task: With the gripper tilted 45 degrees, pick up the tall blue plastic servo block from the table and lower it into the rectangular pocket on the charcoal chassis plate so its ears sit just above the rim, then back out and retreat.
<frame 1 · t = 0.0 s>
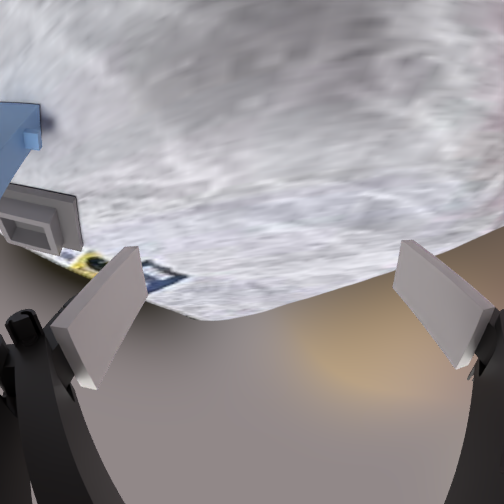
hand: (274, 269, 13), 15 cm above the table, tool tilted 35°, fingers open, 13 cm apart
chassis: (34, 214, 30), on the table
servo: (19, 118, 18), on the table
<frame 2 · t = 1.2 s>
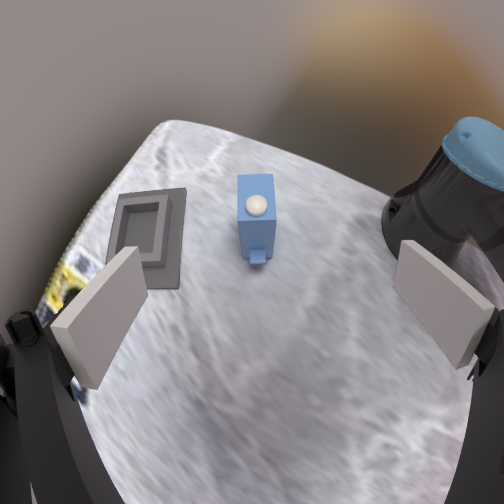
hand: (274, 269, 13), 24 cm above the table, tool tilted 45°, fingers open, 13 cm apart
chassis: (145, 237, 41), on the table
servo: (256, 238, 40), on the table
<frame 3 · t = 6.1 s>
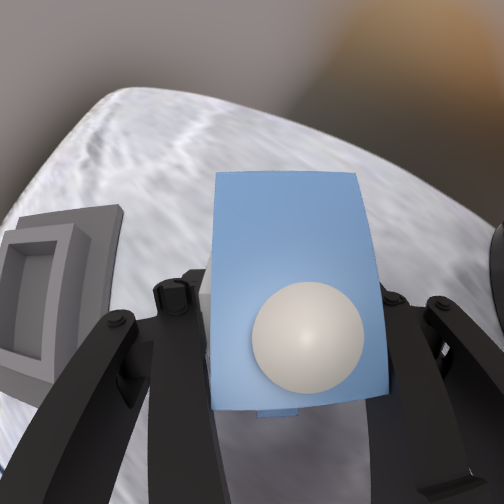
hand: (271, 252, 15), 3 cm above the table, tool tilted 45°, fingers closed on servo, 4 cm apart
chassis: (47, 307, 17), on the table
servo: (271, 330, 16), on the table, touching gripper
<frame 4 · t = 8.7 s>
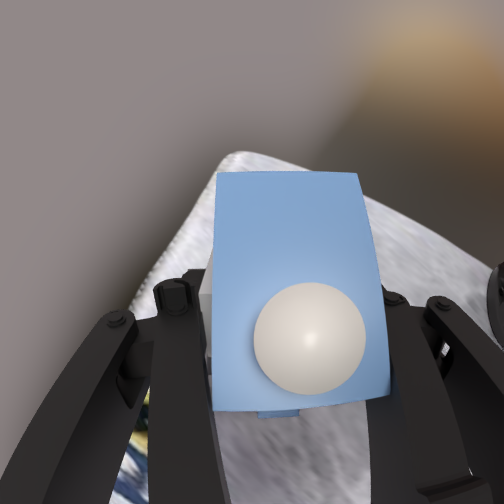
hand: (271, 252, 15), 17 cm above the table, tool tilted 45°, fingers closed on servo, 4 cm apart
servo: (271, 330, 16), point 14 cm above the table, touching gripper
when the fingers open (6 cm above the table, at t = 11.7 s): servo drops 1 cm, resting on chassis.
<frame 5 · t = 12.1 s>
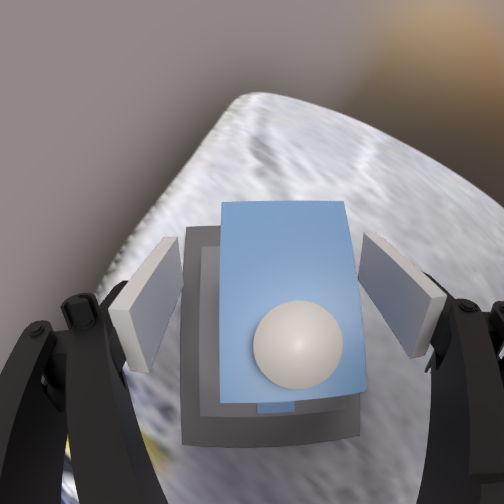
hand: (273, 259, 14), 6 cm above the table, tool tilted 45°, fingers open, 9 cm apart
chassis: (269, 334, 19), on the table
servo: (270, 333, 18), point 1 cm above the table, touching chassis
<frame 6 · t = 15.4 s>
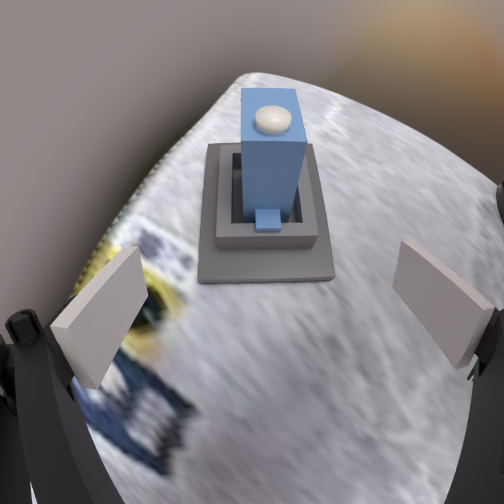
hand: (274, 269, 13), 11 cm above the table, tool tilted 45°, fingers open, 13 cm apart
chassis: (263, 205, 28), on the table
servo: (264, 200, 27), point 1 cm above the table, touching chassis
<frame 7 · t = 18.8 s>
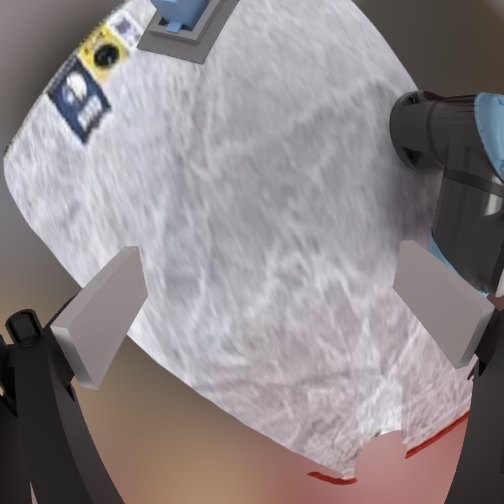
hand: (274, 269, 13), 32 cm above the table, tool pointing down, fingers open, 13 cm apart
chassis: (190, 16, 31), on the table
servo: (189, 14, 30), point 1 cm above the table, touching chassis
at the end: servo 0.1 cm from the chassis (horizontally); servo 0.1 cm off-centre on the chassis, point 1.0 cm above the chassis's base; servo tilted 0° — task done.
